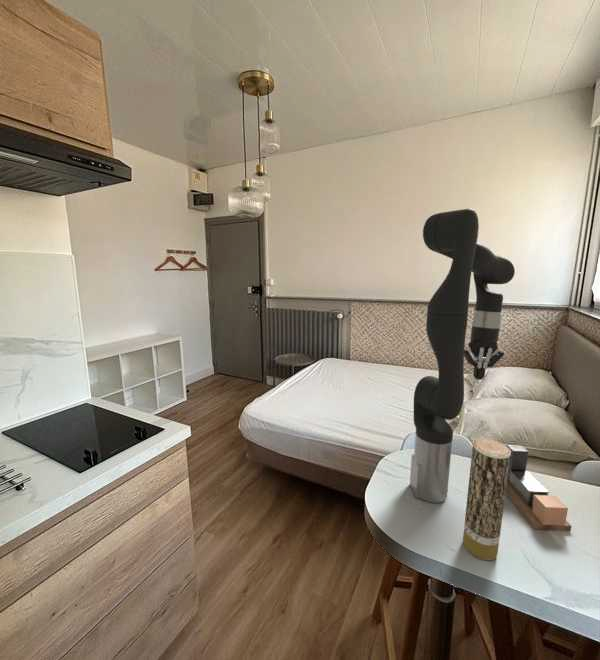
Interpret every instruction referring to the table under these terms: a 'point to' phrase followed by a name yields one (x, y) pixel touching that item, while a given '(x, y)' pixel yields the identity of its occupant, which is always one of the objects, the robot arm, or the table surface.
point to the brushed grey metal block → (519, 463)
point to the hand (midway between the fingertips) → (478, 378)
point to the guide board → (529, 515)
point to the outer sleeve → (525, 485)
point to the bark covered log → (486, 497)
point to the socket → (549, 510)
